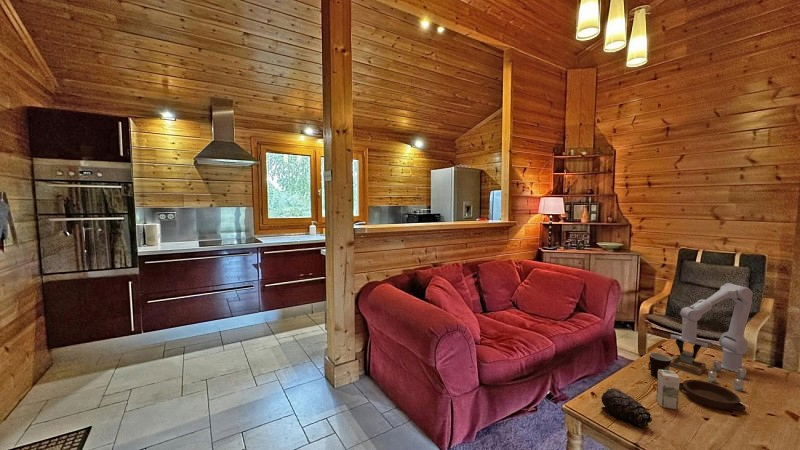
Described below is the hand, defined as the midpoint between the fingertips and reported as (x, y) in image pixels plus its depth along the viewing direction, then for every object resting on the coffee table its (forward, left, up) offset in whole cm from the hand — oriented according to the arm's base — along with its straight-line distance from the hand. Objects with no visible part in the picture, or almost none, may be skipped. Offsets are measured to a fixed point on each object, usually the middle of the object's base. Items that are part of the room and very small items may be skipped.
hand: (687, 356), depth 172 cm
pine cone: (+71, -3, -6) cm, 71 cm away
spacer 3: (-8, +19, -6) cm, 21 cm away
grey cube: (0, 0, -3) cm, 3 cm away
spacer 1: (+8, +11, -6) cm, 15 cm away
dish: (+29, +14, -7) cm, 33 cm away
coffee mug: (+23, -7, -6) cm, 25 cm away
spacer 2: (-8, +10, -6) cm, 14 cm away
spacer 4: (+8, +20, -6) cm, 22 cm away
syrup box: (+48, +4, -6) cm, 49 cm away
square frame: (0, 0, -6) cm, 6 cm away
